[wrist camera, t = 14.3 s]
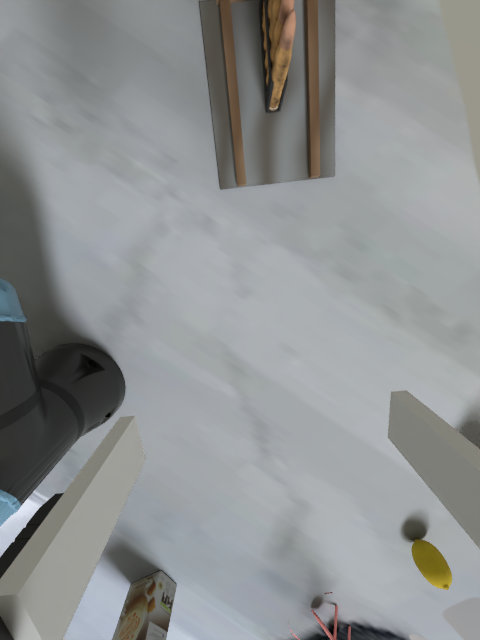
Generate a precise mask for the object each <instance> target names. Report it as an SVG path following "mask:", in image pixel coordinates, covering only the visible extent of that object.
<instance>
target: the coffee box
mask: <svg viewBox="0 0 480 640" xmlns="http://www.w3.org/2000/svg"><path fill="white" fill-rule="evenodd" d="M176 587H177V585H176V584H175V583H174V582H173V581H172V580H171V579H170V578H169V577H168V576H167V575H165V574H164V573H163V572H162V571H159V572H156V573H154V574H152V575H150V576H148V577H145V578H143V579H141V580H139V581H136V582H134V583H132V584H131V585H130V588H129V591H128V594H127V597H126V600H125V603H124V606H123V609H122V612H121V615H120V618H119V621H118V624H117V627H116V630H115V633H114V636H113V639H112V640H166V637H167V632H168V627H169V622H170V616H171V612H172V607H173V602H174V597H175V592H176Z"/></svg>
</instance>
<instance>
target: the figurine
mask: <svg viewBox="0 0 480 640" xmlns="http://www.w3.org/2000/svg"><path fill="white" fill-rule="evenodd" d="M330 593H332V592H330ZM325 594H329V593H325ZM311 611H312V612H313V614H314V616H315V617H316V619H317V620H318V622H319V623H320V625H321V626H322V628H323V629H324V631H325V632H326V634H327V635H328V636H329V638H330V639H331V640H337V639H336V630H337V612H338V606H336V605H335V620H334V636H332V635H331V633H330V632H329V631H328V629H327V628H326V626H325V625H324V624H323V622H322V621H321V620H320V618H319V617H318V616H317V615H315V614H316V613H315V612H314V611H313V610H311ZM290 630H291V629H290ZM350 630H351V627H350V626H348V640H350ZM291 632H292V631H291ZM292 634H293V633H292ZM292 634H291V635H292ZM293 635H294V634H293ZM294 636H295V635H294ZM295 637H296V636H295ZM296 638H297V637H296ZM297 639H298V638H297ZM299 640H300V639H299Z"/></svg>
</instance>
